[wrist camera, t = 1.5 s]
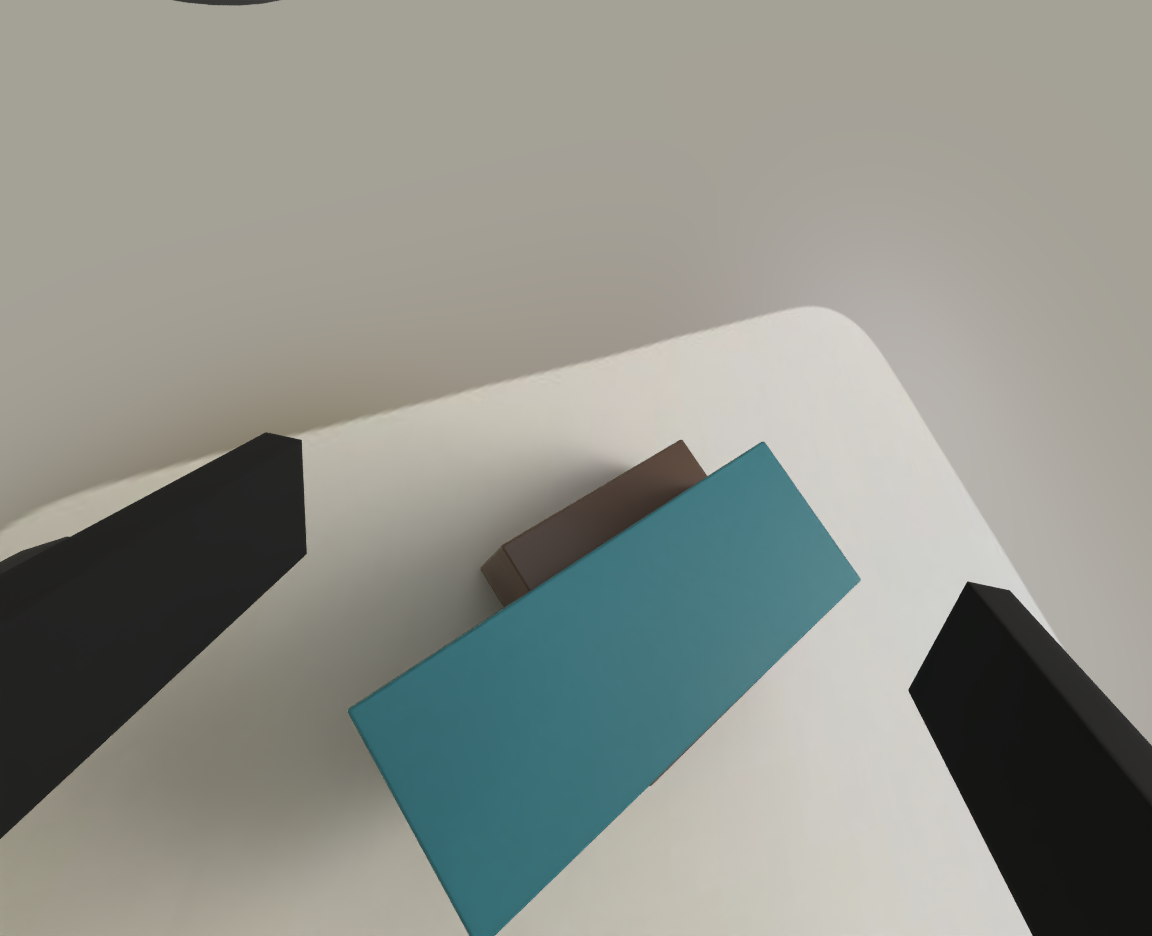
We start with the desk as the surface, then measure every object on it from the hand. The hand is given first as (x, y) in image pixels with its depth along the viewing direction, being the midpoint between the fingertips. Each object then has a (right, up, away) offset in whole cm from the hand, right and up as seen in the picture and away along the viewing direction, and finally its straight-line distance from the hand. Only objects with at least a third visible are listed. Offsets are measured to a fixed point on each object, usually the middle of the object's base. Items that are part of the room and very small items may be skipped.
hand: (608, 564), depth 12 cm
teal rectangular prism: (+1, -4, +8) cm, 9 cm away
